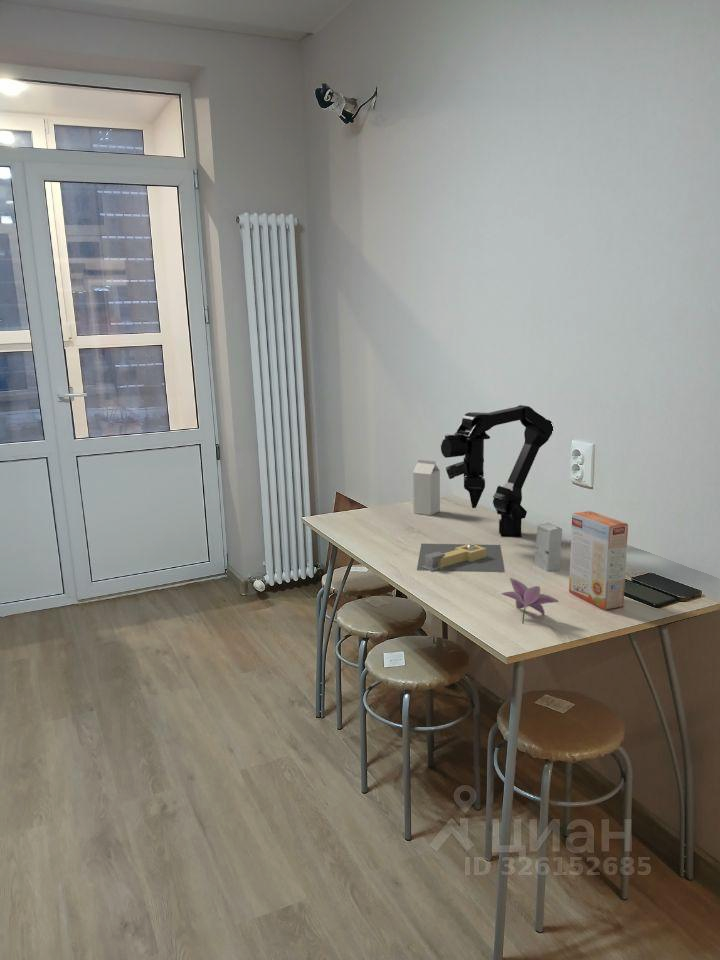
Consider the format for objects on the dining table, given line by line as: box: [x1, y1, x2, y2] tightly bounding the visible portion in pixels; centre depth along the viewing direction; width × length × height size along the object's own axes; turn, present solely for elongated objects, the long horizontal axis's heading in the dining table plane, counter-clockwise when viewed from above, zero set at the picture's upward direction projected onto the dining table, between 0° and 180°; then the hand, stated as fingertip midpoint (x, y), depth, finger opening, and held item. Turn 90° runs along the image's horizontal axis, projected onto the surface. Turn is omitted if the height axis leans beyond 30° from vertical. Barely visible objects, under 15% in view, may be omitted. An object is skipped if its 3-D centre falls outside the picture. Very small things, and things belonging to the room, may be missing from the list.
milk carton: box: [412, 459, 441, 516], centre depth 268 cm, size 7×7×19 cm
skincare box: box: [534, 522, 563, 572], centre depth 207 cm, size 6×4×12 cm
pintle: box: [467, 543, 474, 551], centre depth 218 cm, size 2×2×3 cm
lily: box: [501, 577, 559, 624], centre depth 174 cm, size 12×12×10 cm
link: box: [438, 543, 486, 568], centre depth 215 cm, size 16×6×3 cm, turn 127°
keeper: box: [421, 552, 445, 572], centre depth 210 cm, size 6×4×4 cm
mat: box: [416, 543, 505, 573], centre depth 219 cm, size 24×25×1 cm
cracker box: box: [568, 510, 629, 611], centre depth 183 cm, size 14×6×21 cm, turn 21°
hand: (473, 504), depth 232 cm, fingers open, 9 cm apart
